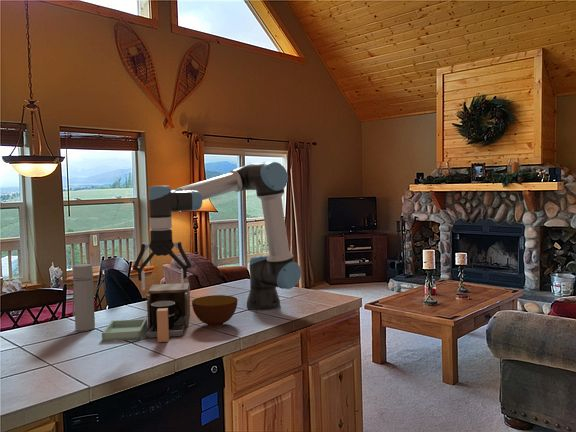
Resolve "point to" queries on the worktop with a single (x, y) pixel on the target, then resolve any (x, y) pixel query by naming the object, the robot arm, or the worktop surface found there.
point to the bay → (170, 299)
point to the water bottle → (83, 297)
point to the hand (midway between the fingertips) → (163, 288)
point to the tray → (124, 330)
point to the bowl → (214, 309)
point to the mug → (171, 312)
